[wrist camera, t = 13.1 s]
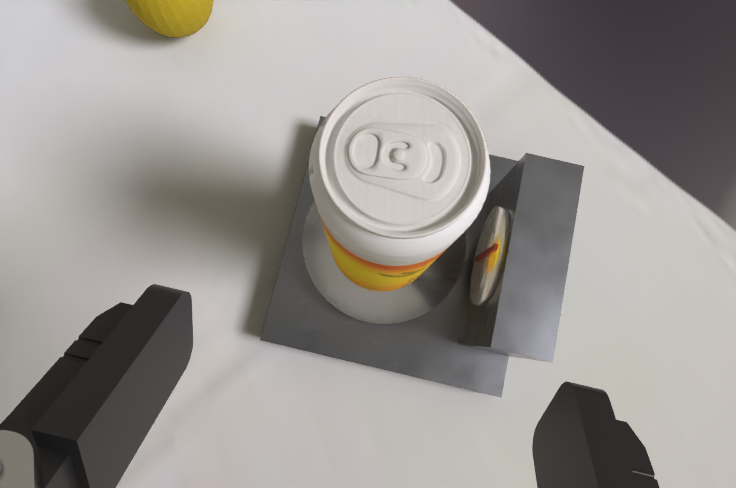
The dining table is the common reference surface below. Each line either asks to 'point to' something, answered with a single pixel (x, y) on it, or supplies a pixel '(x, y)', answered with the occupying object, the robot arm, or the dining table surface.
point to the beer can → (397, 179)
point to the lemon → (172, 15)
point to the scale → (455, 288)
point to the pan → (375, 303)
